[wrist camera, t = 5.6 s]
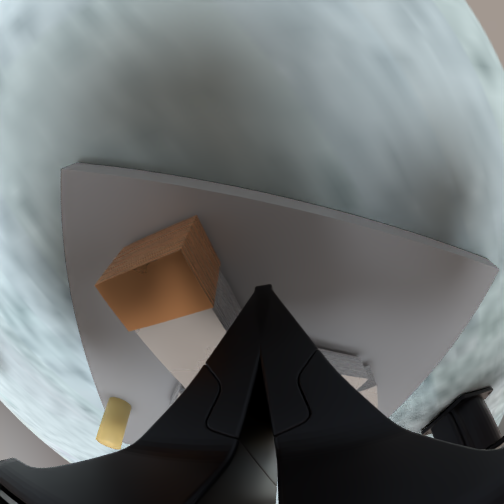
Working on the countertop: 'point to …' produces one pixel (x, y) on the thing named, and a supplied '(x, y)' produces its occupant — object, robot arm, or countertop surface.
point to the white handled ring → (188, 303)
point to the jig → (264, 282)
